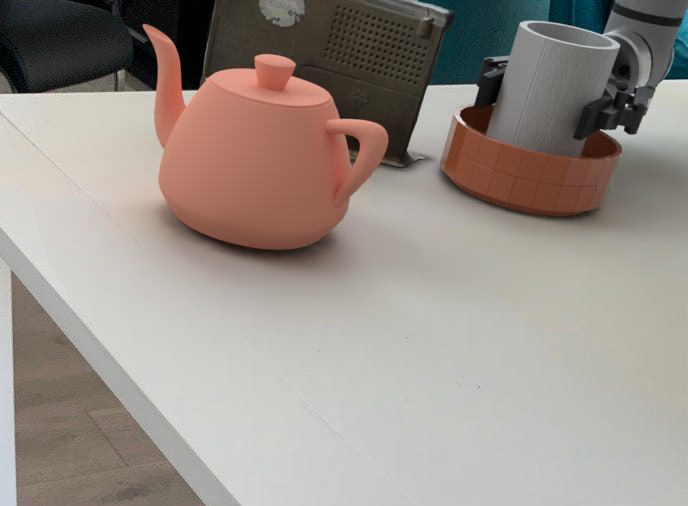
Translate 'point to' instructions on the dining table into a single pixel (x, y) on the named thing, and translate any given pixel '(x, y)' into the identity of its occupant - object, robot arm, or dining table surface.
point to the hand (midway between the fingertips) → (531, 107)
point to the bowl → (526, 168)
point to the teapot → (257, 152)
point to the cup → (550, 86)
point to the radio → (341, 55)
